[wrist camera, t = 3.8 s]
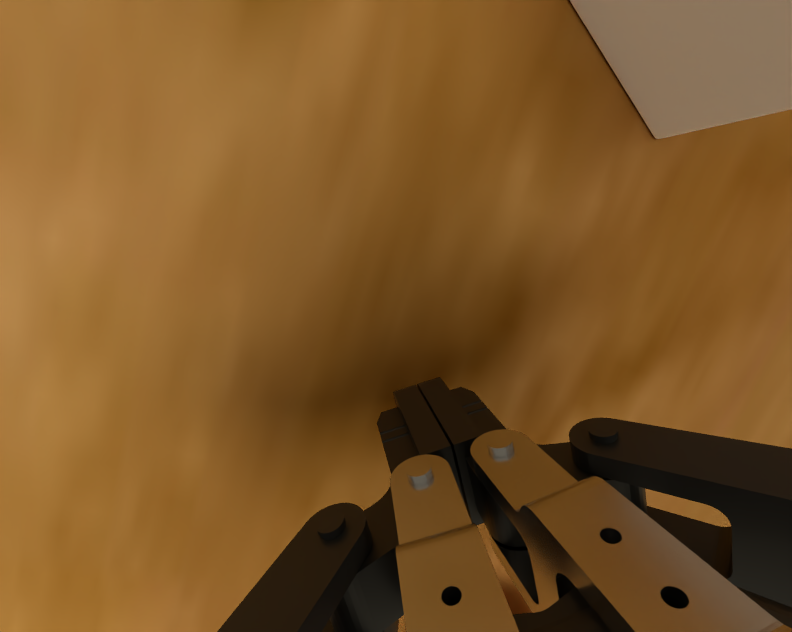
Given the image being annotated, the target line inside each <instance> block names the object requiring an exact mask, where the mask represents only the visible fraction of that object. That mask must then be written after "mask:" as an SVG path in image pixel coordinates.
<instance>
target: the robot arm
mask: <svg viewBox="0 0 792 632" xmlns="http://www.w3.org/2000/svg"><path fill="white" fill-rule="evenodd" d="M393 394H394V398H395V402H396V405H397V408H394V409H390V410H387V411H384V412H381V415H380V417H379V419H378V422H377V425H378V428H379V432H380V435H381V439H382V443H383V446H384V450H385V453H386V457H387V461H388V464H389V468H390V471H391V478H390V487H389V490H388V491H387V493H386V494H385V495H384V496H383V497H382V498H381V499H380V500H379V501H378V502H377V503H375V504H374V505H372V506H371V507H369V508H368V509H366V510H364V511H363V510H362V509H361V508H360V507H359V506H357V505H355V504H352V503H338V504H334V505H331V506H328V507H326V508H324V509H322V510H320V511H319V512H317V513H316V514H315V515H313V516H312V517H311V518H310V519H309V520H308V521H307V522H306V524H305V525H304V526H303V527H302V529H301V530H300V531H299V532H298V533H297V535H296V536H295V537H294V538H293V540H292V541H291V542H290V543H289V544H288V546H287V547H286V548H285V549H284V551H283V552H282V553H281V554H280V555H279V557H278V558H277V559H276V560H275V562H274V563H273V564H272V565H271V567H270V568H269V569H268V570H267V571H266V573H265V574H264V575H263V576H262V578H261V579H260V580H259V581H258V582H257V584H256V585H255V586H254V587H253V589H252V590H251V591H250V592H249V594H248V595H247V596H246V597H245V598H244V600H243V601H242V602H241V603H240V605H239V606H238V607H237V608H236V609H235V611H234V612H233V613H232V614H231V616H230V617H229V618H228V619H227V620H226V622H225V623H224V624H223V625H222V627H221V628H220V629H219V630H218V632H397V631H398V625H399V620H398V619H399V618H400V617H401V616H403V615H404V619H405V626H406V632H792V449H790V448H784V447H778V446H772V445H766V444H760V443H754V442H748V441H742V440H736V439H730V438H724V437H718V436H713V435H707V434H701V433H695V432H689V431H683V430H677V429H671V428H665V427H659V426H653V425H647V424H641V423H635V422H629V421H623V420H617V419H611V418H592V419H587V420H584V421H581V422H579V423H577V424H576V425H574V426H573V427H572V428H571V430H570V432H569V439H570V442H567V443H558V444H548V445H537V444H535V443H534V442H533V441H532V440H531V439H530V438H528V437H527V436H526V435H525V434H523V433H521V432H518V431H515V430H509V429H506V428H505V427H504V426H503V425H502V424H501V422H500V421H499V420H498V419H497V418H496V417H495V416H494V415H493V413H492V412H491V411H490V410H489V409H487V407H486V405H485V404H484V403H483V402H481V400H480V399H479V397H478V396H477V395H476V394H475V393H474V392H473V391H470V390H468V389H465V388H462V387H459V388H456V389H453V390H449V388H448V387H447V386H446V384H445V383H444V382H443V380H442V379H441V378H440V377H439V378H435V379H432V380H429V381H426V382H423V383H419V384H417V386H416V385H413V386H410V387H407V388H404V389H400V390H397V391H394V392H393ZM645 488H646V489H650V490H654V491H657V492H661V493H665V494H669V495H673V496H677V497H680V498H684V499H688V500H692V501H696V502H699V503H703V504H707V505H710V506H712V507H714V508H716V509H718V510H719V511H721V512H722V513H723V514H724V515H725V516H726V517H727V518H728V519H729V521H730V523H731V527H719V526H715V525H712V524H708V523H705V522H701V521H698V520H694V519H691V518H687V517H684V516H680V515H677V514H673V513H670V512H666V511H663V510H659V509H656V508H652V507H649V506H647V504H646V493H645ZM482 523H485V525H486V527H487V529H488V531H489V535H490V540H491V544H492V548H493V550H494V552H495V554H496V556H497V557H498V559H499V560H500V562H501V564H502V565H503V567H504V568H505V570H506V572H507V573H508V575H509V576H510V578H511V579H512V581H513V583H514V584H515V586H516V587H517V589H518V591H519V592H520V594H521V595H522V597H523V599H524V600H525V602H526V603H527V605H528V606H529V608H530V610H531V611H532V613H524V614H515V615H512V612H511V610H510V607H509V605H508V602H507V600H506V597H505V595H504V592H503V590H502V587H501V585H500V582H499V580H498V577H497V575H496V572H495V570H494V567H493V565H492V562H491V560H490V557H489V555H488V552H487V550H486V547H485V544H484V542H483V539H482V537H481V534H480V532H479V530H478V527H477V525H479V524H482Z"/></svg>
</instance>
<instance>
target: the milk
mask: <svg viewBox="0 0 792 632" xmlns="http://www.w3.org/2000/svg"><path fill="white" fill-rule="evenodd" d="M570 2H571V3H572V5H573V7H574V8H575V10H576V11H577V13H578V15H579V16H580V18H581V20H582V21H583V23H584V24H585V26H586V28H587V29H588V31H589V32H590V34H591V36H592V37H593V39H594V41H595V42H596V44H597V45H598V47H599V49H600V50H601V52H602V53H603V55H604V57H605V58H606V60H607V62H608V63H609V65H610V66H611V68H612V70H613V71H614V73H615V74H616V76H617V78H618V79H619V81H620V83H621V84H622V86H623V87H624V89H625V91H626V92H627V94H628V96H629V97H630V99H631V100H632V102H633V104H634V105H635V107H636V108H637V110H638V112H639V113H640V115H641V117H642V118H643V120H644V121H645V123H646V125H647V126H648V128H649V129H650V131H651V133H652V134H653V136H654V137H655V138H656V139H662V138H667V137H671V136H675V135H680V134H684V133H689V132H693V131H698V130H702V129H706V128H711V127H715V126H720V125H724V124H729V123H733V122H737V121H742V120H746V119H751V118H755V117H759V116H764V115H768V114H773V113H777V112H782V111H786V110H790V109H792V0H570Z"/></svg>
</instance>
